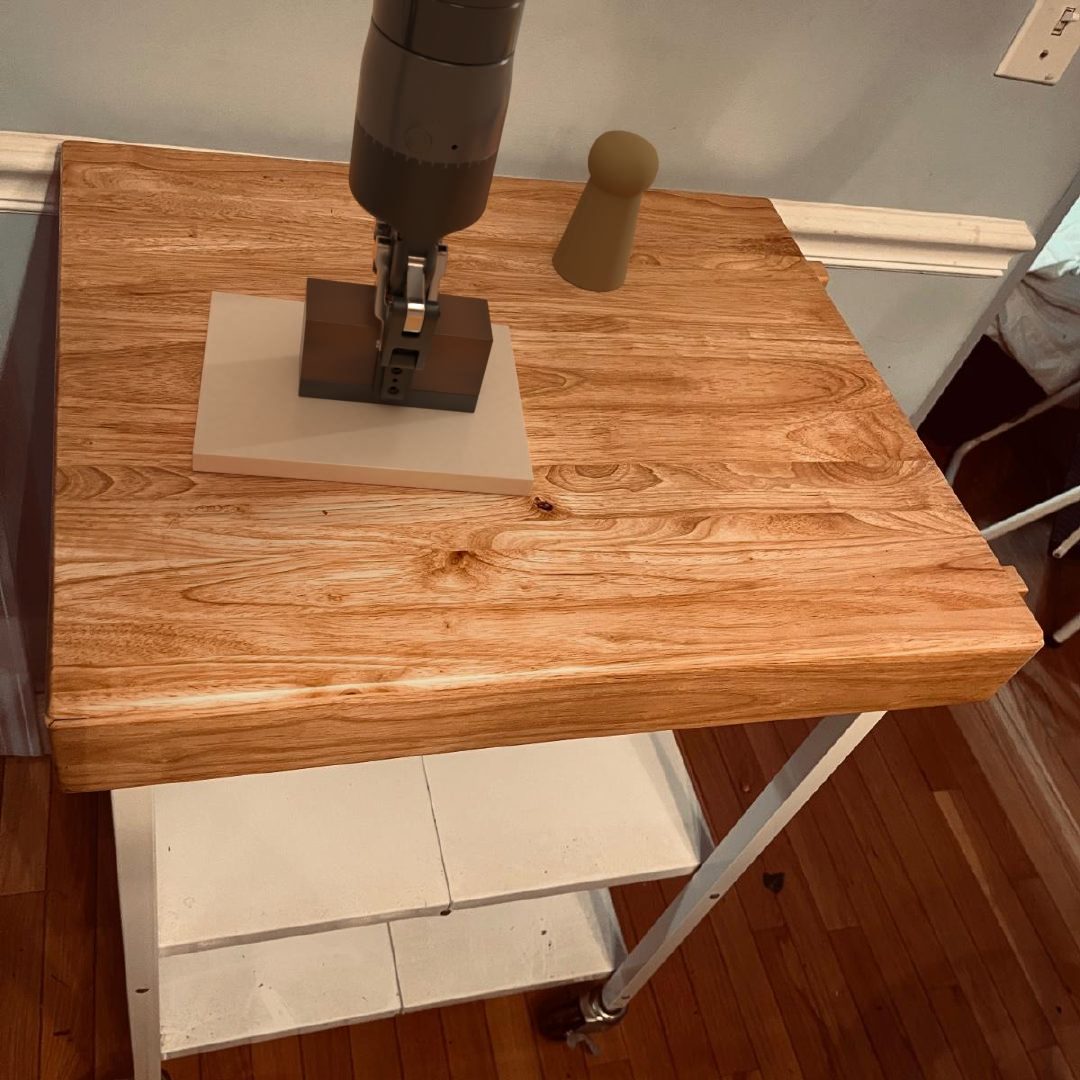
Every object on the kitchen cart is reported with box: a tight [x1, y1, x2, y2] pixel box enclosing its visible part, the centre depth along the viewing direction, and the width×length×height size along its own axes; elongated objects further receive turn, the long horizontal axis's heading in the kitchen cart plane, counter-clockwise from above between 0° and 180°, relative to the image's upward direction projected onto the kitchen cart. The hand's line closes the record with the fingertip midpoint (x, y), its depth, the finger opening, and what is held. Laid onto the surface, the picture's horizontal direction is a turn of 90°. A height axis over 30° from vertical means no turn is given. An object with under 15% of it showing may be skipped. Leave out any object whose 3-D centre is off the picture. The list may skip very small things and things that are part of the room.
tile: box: [191, 290, 535, 497], centre depth 68 cm, size 20×15×2 cm
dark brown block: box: [298, 277, 493, 413], centre depth 66 cm, size 11×4×6 cm, turn 98°
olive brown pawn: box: [552, 129, 660, 293], centre depth 81 cm, size 6×6×11 cm
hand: (388, 370), depth 67 cm, fingers closed on dark brown block, 4 cm apart
